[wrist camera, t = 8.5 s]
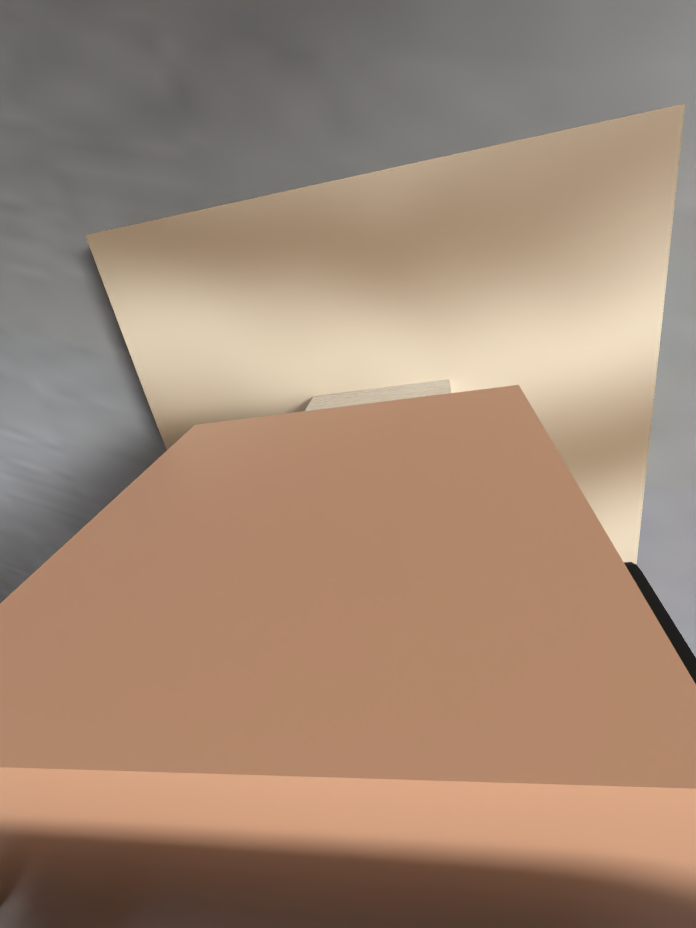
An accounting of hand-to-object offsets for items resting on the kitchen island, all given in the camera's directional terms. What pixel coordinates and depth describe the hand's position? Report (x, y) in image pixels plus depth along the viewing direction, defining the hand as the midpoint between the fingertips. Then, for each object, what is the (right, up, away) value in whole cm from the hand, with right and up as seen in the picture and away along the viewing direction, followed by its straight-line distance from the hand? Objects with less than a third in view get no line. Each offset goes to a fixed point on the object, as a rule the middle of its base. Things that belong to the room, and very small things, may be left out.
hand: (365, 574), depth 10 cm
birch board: (+1, +3, +6) cm, 7 cm away
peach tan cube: (0, +1, +1) cm, 1 cm away
